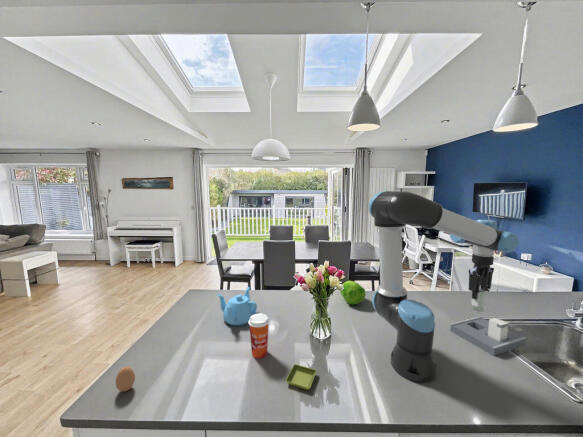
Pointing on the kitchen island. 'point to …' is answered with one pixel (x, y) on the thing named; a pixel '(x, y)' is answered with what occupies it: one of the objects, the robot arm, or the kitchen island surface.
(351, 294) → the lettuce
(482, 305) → the peg
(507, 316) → the kitchen island surface
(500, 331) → the block
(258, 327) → the coffee cup
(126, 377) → the egg
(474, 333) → the grey socket board
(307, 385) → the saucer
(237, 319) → the teapot
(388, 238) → the robot arm
